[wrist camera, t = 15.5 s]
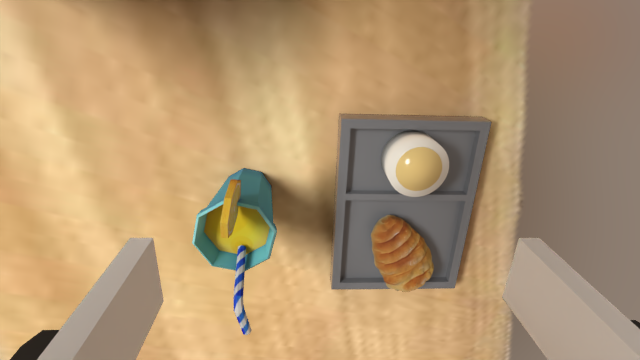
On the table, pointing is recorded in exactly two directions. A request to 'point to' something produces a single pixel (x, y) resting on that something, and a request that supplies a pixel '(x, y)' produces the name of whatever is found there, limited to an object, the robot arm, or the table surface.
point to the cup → (238, 230)
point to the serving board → (385, 200)
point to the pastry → (401, 254)
